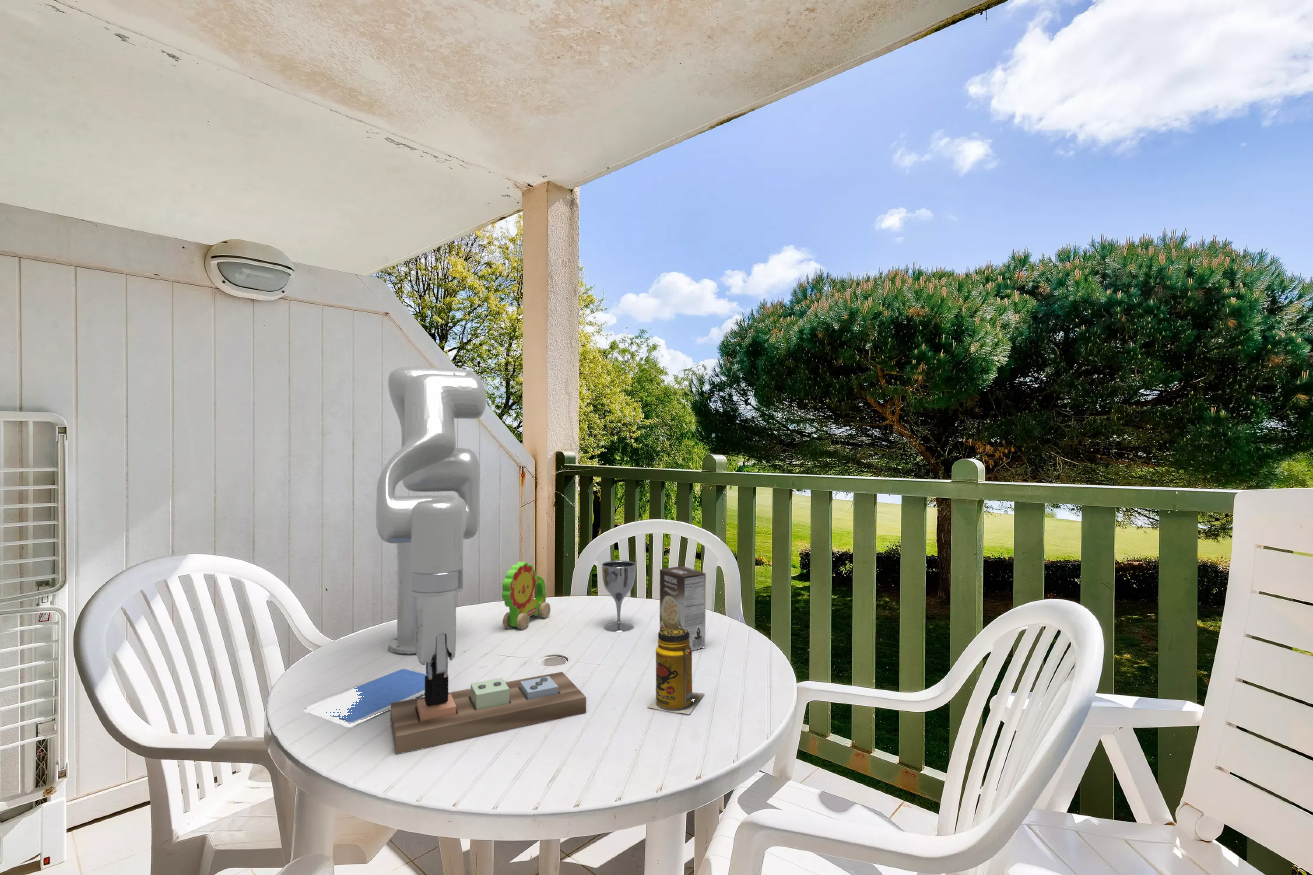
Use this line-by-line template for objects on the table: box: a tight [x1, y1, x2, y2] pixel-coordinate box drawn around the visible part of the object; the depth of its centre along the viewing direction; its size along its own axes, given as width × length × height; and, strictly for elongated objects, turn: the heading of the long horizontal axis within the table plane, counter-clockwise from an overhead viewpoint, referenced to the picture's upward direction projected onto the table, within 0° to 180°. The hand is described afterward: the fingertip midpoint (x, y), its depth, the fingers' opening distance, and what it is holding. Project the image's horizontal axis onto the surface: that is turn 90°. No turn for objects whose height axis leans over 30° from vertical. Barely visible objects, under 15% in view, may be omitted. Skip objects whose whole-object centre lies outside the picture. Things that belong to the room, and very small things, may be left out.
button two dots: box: [470, 677, 509, 710], centre depth 94 cm, size 5×5×3 cm
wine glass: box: [601, 560, 637, 633], centre depth 140 cm, size 8×8×15 cm
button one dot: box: [417, 694, 456, 722], centre depth 90 cm, size 5×5×3 cm
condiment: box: [647, 627, 705, 715], centre depth 99 cm, size 7×8×12 cm
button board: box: [390, 671, 587, 755], centre depth 94 cm, size 12×28×2 cm, turn 118°
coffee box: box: [659, 565, 707, 651], centre depth 127 cm, size 9×6×16 cm
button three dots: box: [520, 676, 558, 700], centre depth 97 cm, size 5×5×3 cm
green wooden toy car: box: [501, 561, 552, 630], centre depth 143 cm, size 16×6×15 cm, turn 159°
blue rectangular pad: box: [326, 668, 428, 724], centre depth 101 cm, size 19×13×1 cm, turn 151°
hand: (436, 701), depth 90 cm, fingers closed
